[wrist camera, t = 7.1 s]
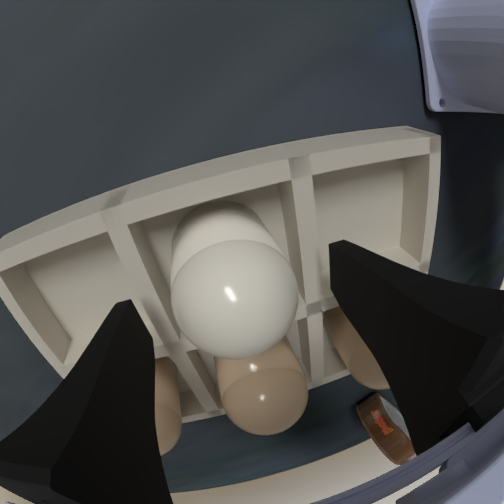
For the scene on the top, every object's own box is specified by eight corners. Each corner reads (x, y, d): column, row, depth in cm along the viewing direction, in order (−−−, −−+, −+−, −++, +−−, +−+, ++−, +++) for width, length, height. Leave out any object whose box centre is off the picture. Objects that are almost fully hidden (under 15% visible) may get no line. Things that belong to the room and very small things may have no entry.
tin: (345, 397, 25) (381, 468, 18) (372, 378, 24) (414, 448, 17) (384, 421, 32) (410, 468, 25) (403, 408, 32) (431, 454, 25)
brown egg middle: (280, 307, 16) (321, 393, 11) (288, 356, 18) (320, 431, 13) (202, 330, 16) (218, 423, 11) (222, 375, 18) (240, 455, 13)
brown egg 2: (386, 271, 17) (445, 334, 12) (380, 322, 19) (425, 382, 14) (321, 294, 16) (371, 373, 11) (323, 344, 18) (361, 415, 14)
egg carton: (406, 125, 13) (440, 135, 11) (391, 324, 20) (409, 347, 18) (4, 235, 11) (-20, 261, 9) (120, 402, 18) (119, 431, 16)
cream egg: (259, 189, 12) (314, 258, 7) (274, 272, 15) (320, 361, 10) (157, 217, 12) (146, 307, 7) (188, 297, 14) (199, 396, 9)
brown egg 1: (161, 340, 15) (164, 433, 10) (187, 383, 18) (197, 463, 13) (95, 355, 15) (82, 441, 10) (128, 395, 17) (127, 470, 12)
